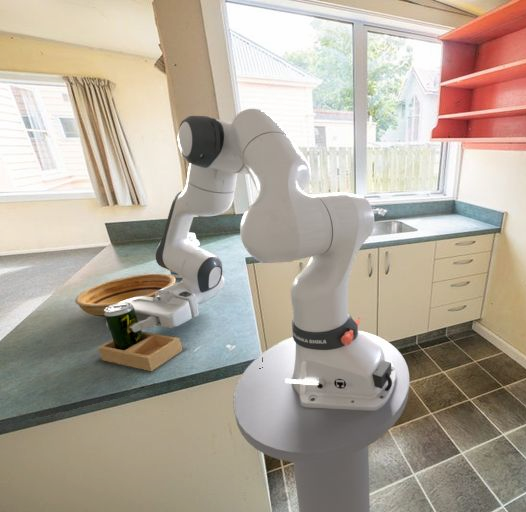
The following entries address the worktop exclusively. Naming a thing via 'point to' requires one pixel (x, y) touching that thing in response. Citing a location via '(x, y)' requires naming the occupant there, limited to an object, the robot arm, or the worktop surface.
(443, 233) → the worktop surface
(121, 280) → the tan oval bowl
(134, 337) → the beer can
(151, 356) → the socket base
